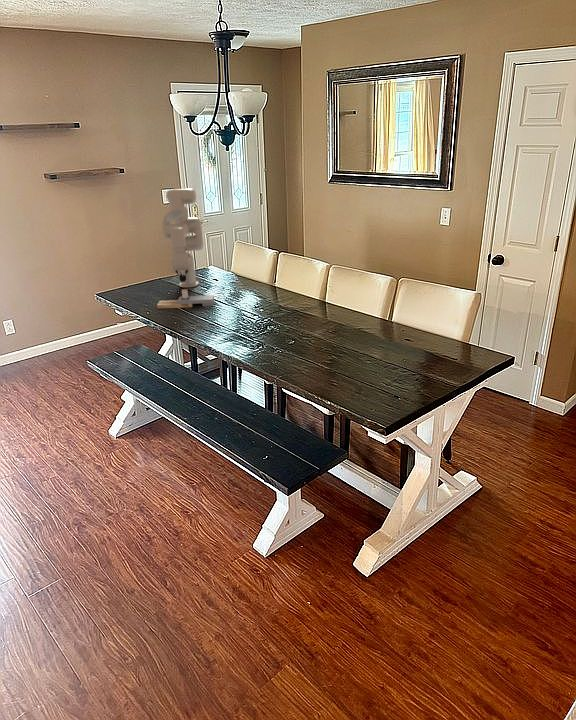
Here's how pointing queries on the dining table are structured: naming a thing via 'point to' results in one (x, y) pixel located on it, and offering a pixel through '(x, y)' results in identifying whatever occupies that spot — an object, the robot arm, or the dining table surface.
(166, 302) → the link
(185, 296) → the pin
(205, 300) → the link
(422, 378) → the dining table surface
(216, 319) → the dining table surface
